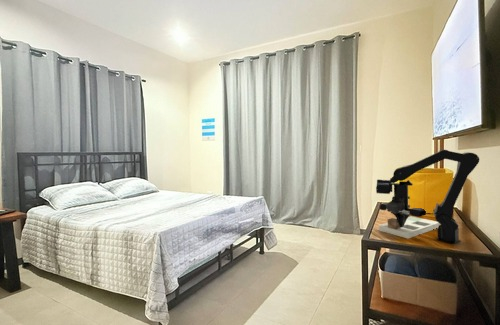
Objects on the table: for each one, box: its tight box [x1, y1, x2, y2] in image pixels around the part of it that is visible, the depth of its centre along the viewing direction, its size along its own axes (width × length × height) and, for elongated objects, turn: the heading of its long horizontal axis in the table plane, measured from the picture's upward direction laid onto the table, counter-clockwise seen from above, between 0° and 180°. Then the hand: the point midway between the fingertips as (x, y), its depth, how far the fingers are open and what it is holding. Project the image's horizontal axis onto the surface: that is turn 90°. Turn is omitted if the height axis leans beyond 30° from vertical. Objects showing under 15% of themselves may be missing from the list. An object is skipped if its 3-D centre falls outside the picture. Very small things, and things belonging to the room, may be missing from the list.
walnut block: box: [387, 217, 401, 229], centre depth 123 cm, size 4×4×4 cm
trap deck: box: [377, 215, 441, 239], centre depth 128 cm, size 14×28×2 cm, turn 119°
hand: (401, 227), depth 119 cm, fingers closed
